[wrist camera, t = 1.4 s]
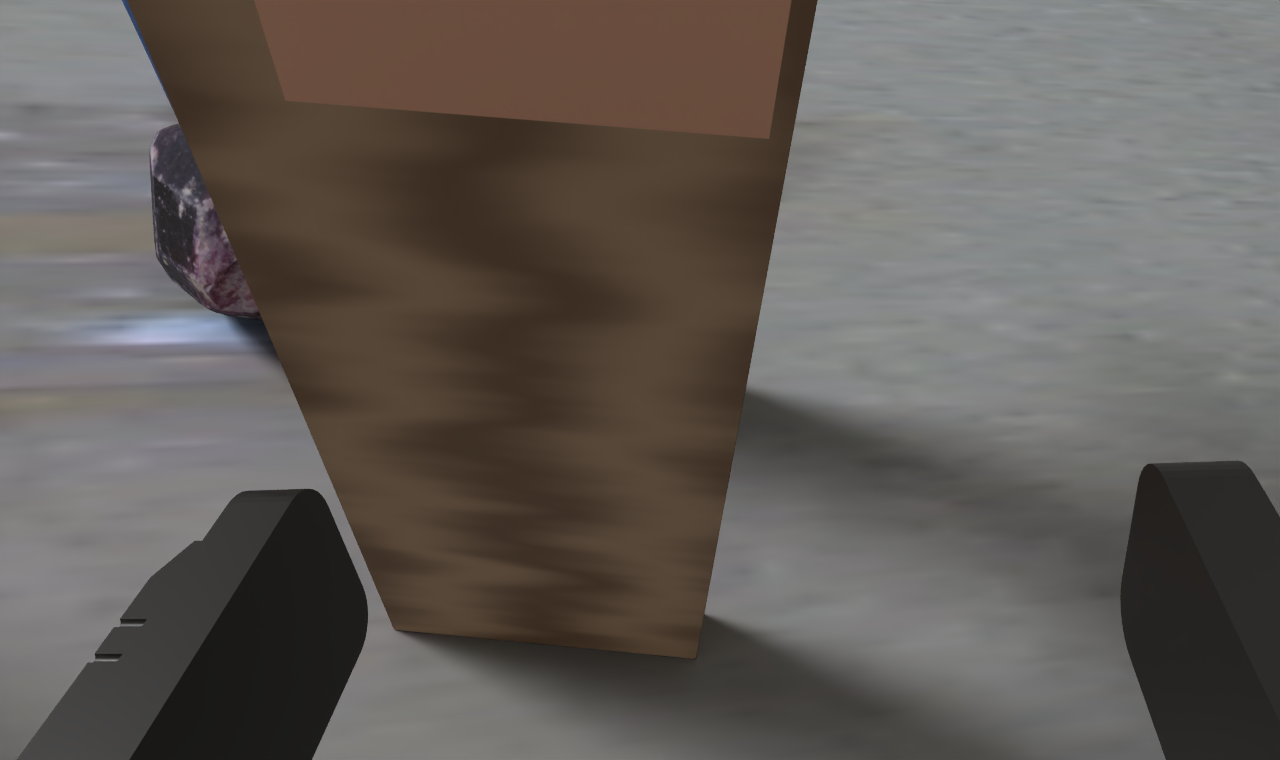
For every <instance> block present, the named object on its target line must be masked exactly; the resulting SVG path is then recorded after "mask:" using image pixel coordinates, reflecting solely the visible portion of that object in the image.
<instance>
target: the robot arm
mask: <svg viewBox="0 0 1280 760" xmlns="http://www.w3.org/2000/svg"><path fill="white" fill-rule="evenodd" d="M1121 616H1122V625H1123V631H1124V636H1125V641H1126V645H1127V649H1128V652H1129V655H1130V658H1131V661H1132V664H1133V667H1134V670H1135V673H1136V676H1137V678H1138V681H1139V684H1140V687H1141V690H1142V693H1143V695H1144V698H1145V701H1146V704H1147V707H1148V710H1149V713H1150V715H1151V718H1152V721H1153V724H1154V727H1155V730H1156V733H1157V735H1158V738H1159V741H1160V744H1161V747H1162V750H1163V752H1164V755H1165V758H1166V760H1280V517H1279V515H1278V513H1277V512H1276V510H1275V508H1274V507H1273V505H1272V503H1271V502H1270V500H1269V498H1268V497H1267V495H1266V493H1265V492H1264V490H1263V488H1262V486H1261V485H1260V483H1259V481H1258V480H1257V478H1256V476H1255V475H1254V473H1253V472H1252V470H1251V469H1250V468H1249V467H1248V466H1247V465H1246V464H1245V463H1243V462H1241V461H1216V462H1185V463H1155V464H1147V465H1146V466H1145V467H1144V468H1143V470H1142V472H1141V475H1140V477H1139V482H1138V487H1137V493H1136V499H1135V505H1134V511H1133V517H1132V523H1131V529H1130V535H1129V541H1128V547H1127V553H1126V558H1125V564H1124V570H1123V576H1122V583H1121ZM120 620H121V624H120V627H114V628H113V629H112V631H111V632H110V633H109V635H108V636H107V637H106V639H105V640H104V642H103V643H102V644H101V646H100V647H99V648H98V650H97V651H96V652H95V661H94V662H93V663H87V665H86V666H85V667H84V669H83V670H82V672H81V673H80V674H79V676H78V677H77V678H76V680H75V681H74V682H73V684H72V685H71V687H70V688H69V689H68V691H67V692H66V693H65V695H64V696H63V697H62V699H61V700H60V702H59V703H58V704H57V706H56V707H55V708H54V710H53V711H52V712H51V714H50V715H49V717H48V718H47V719H46V721H45V722H44V723H43V725H42V726H41V727H40V729H39V730H38V732H37V733H36V734H35V736H34V737H33V738H32V740H31V741H30V742H29V744H28V745H27V747H26V748H25V749H24V751H23V752H22V753H21V755H20V756H19V757H18V759H17V760H312V758H313V756H314V754H315V751H316V749H317V747H318V745H319V743H320V740H321V738H322V736H323V734H324V732H325V729H326V727H327V725H328V723H329V721H330V718H331V716H332V714H333V712H334V710H335V707H336V705H337V703H338V701H339V699H340V696H341V694H342V692H343V690H344V688H345V686H346V683H347V681H348V679H349V677H350V675H351V672H352V670H353V668H354V666H355V664H356V661H357V659H358V657H359V655H360V653H361V650H362V647H363V645H364V641H365V637H366V632H367V624H368V606H367V599H366V595H365V591H364V588H363V586H362V584H361V581H360V579H359V577H358V574H357V572H356V570H355V567H354V565H353V563H352V560H351V558H350V556H349V553H348V551H347V549H346V546H345V544H344V542H343V539H342V537H341V535H340V532H339V530H338V528H337V525H336V523H335V521H334V518H333V516H332V514H331V512H330V509H329V507H328V505H327V503H326V501H325V499H324V498H323V496H322V495H321V494H320V493H319V492H317V491H315V490H313V489H290V490H260V491H244V492H241V493H239V494H237V495H236V496H235V497H234V498H233V499H232V500H231V501H230V502H229V504H228V505H227V506H226V508H225V509H224V511H223V512H222V513H221V515H220V516H219V518H218V519H217V521H216V522H215V523H214V525H213V526H212V528H211V529H210V531H209V532H208V533H207V535H206V536H205V538H204V539H203V540H202V541H194V542H193V543H192V544H190V545H189V546H188V547H187V548H186V549H184V550H183V551H182V552H181V553H179V554H178V555H177V556H176V557H175V558H173V559H172V560H171V561H170V562H169V563H167V564H166V565H165V566H164V567H163V568H161V569H160V570H159V571H158V572H156V573H155V574H154V575H153V576H152V577H151V578H150V579H149V580H148V582H147V583H146V584H145V586H144V587H143V588H142V590H141V591H140V593H139V594H138V595H137V597H136V598H135V599H134V601H133V602H132V603H131V605H130V606H129V608H128V609H127V610H126V612H125V613H124V614H123V616H122V617H121V618H120Z"/></svg>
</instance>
